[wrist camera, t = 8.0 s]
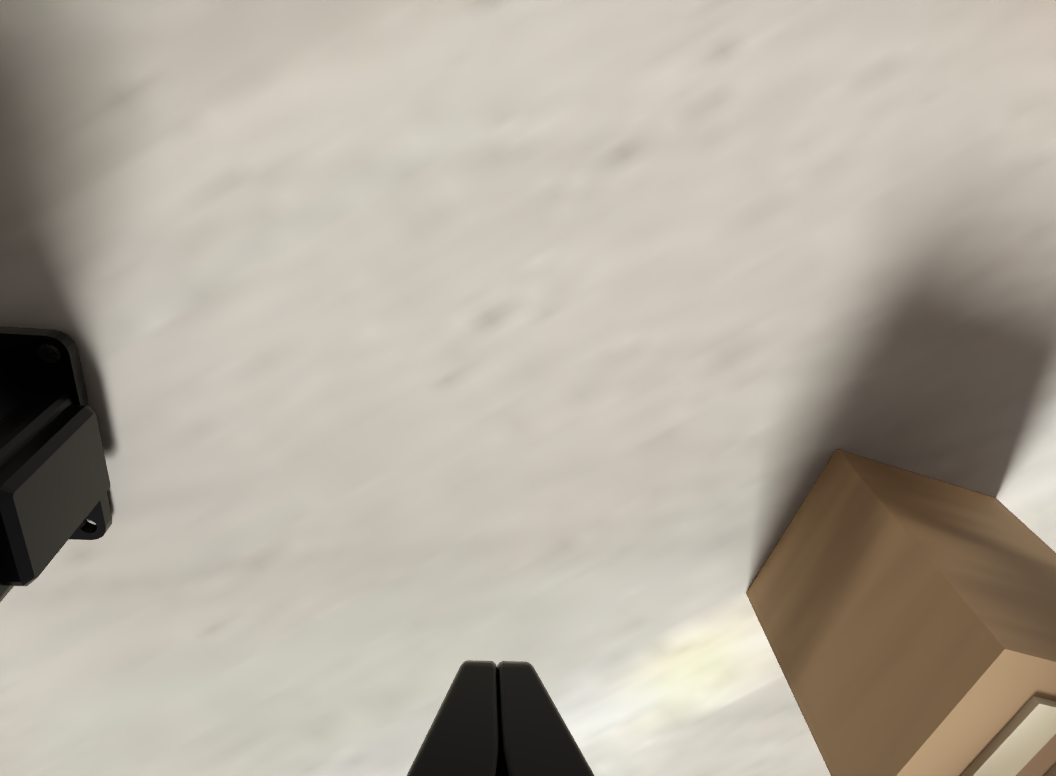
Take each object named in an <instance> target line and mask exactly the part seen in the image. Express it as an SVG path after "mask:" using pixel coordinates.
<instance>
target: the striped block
mask: <svg viewBox="0 0 1056 776" xmlns="http://www.w3.org/2000/svg"><path fill="white" fill-rule="evenodd" d="M746 594H747V596H748V598H749V601H750V603H751V605H752V607H753V609H754V611H755V613H756V616H757V618H758V620H759V622H760V624H761V626H762V628H763V631H764V633H765V635H766V637H767V639H768V641H769V643H770V646H771V648H772V650H773V652H774V654H775V656H776V658H777V661H778V663H779V665H780V667H781V669H782V671H783V673H784V676H785V678H786V680H787V682H788V684H789V686H790V688H791V691H792V693H793V695H794V697H795V699H796V701H797V703H798V706H799V708H800V710H801V712H802V714H803V716H804V718H805V721H806V723H807V725H808V727H809V729H810V731H811V733H812V736H813V738H814V740H815V742H816V744H817V746H818V748H819V751H820V753H821V755H822V757H823V759H824V761H825V764H826V766H827V768H828V770H829V772H830V774H831V776H1056V553H1055V552H1054V551H1053V550H1052V549H1051V548H1050V547H1049V546H1048V545H1046V544H1045V543H1044V542H1043V541H1042V540H1041V539H1040V538H1039V537H1038V536H1037V535H1036V534H1034V533H1033V532H1032V531H1031V530H1030V529H1029V528H1028V527H1027V526H1026V525H1025V524H1024V523H1022V522H1021V521H1020V520H1019V519H1018V518H1017V517H1016V516H1015V515H1014V514H1013V513H1012V512H1010V511H1009V510H1008V509H1007V508H1006V507H1005V506H1004V505H1003V504H1002V503H1001V502H1000V501H998V500H997V499H996V498H994V497H991V496H987V495H984V494H981V493H978V492H974V491H971V490H968V489H965V488H962V487H958V486H955V485H952V484H949V483H945V482H942V481H939V480H936V479H932V478H929V477H926V476H923V475H920V474H916V473H913V472H910V471H907V470H903V469H900V468H897V467H894V466H891V465H887V464H884V463H881V462H878V461H874V460H871V459H868V458H865V457H861V456H858V455H855V454H852V453H849V452H845V451H842V450H839V449H836V451H835V452H834V454H833V455H832V457H831V459H830V460H829V462H828V463H827V465H826V466H825V468H824V470H823V471H822V473H821V474H820V476H819V478H818V479H817V481H816V482H815V484H814V486H813V487H812V489H811V490H810V492H809V494H808V495H807V497H806V498H805V500H804V502H803V503H802V505H801V506H800V508H799V510H798V511H797V513H796V514H795V516H794V518H793V519H792V521H791V522H790V524H789V526H788V527H787V529H786V530H785V532H784V534H783V535H782V537H781V538H780V540H779V541H778V543H777V545H776V546H775V548H774V549H773V551H772V553H771V554H770V556H769V557H768V559H767V561H766V562H765V564H764V565H763V567H762V569H761V570H760V572H759V573H758V575H757V577H756V578H755V580H754V581H753V583H752V585H751V586H750V588H749V589H748V591H747V593H746Z"/></svg>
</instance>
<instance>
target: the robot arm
mask: <svg viewBox="0 0 1056 776" xmlns="http://www.w3.org/2000/svg"><path fill="white" fill-rule="evenodd" d="M47 344H48V345H51V346H54V347H55V348H56V349H57V350H58V352H59V354H60V357H59V356H56V355H53V354H52V353H51V352H49V350H48V348H47ZM109 488H110V481H109V476H108V471H107V466H106V461H105V456H104V451H103V446H102V441H101V436H100V432H99V427H98V422H97V417H96V414H95V412H94V411H93V410H92V409H91V407H89V403H88V398H87V393H86V388H85V383H84V379H83V374H82V369H81V364H80V359H79V354H78V349H77V347H76V344H75V342H74V341H73V340H72V339H71V338H70V336H68V335H67V334H65V333H63V332H61V331H57V330H48V329H30V328H13V327H0V602H1V601H2V599H3V598H4V597H5V596H6V595H7V593H8V592H9V591H10V590H11V589H12V588H13V586H28V585H29V584H30V583H32V582H33V581H34V580H35V579H36V578H37V577H38V576H39V575H40V574H41V572H42V571H43V570H44V569H45V567H46V566H47V565H48V564H49V563H50V561H51V560H52V559H53V558H54V556H55V555H56V554H57V553H58V551H59V550H60V549H61V548H62V546H63V545H64V544H65V543H66V542H67V540H68V539H80V540H94V539H99V538H100V537H102V536H103V535H104V534H105V532H106V531H107V530H108V528H109V527H110V526H111V524H112V516H111V511H110V506H109V501H108V496H107V491H108V490H109ZM86 519H89V520H92V521H93V522H95V523H96V525H94V524H91V523H89V522H88V521H87V520H86ZM407 776H594V774H593V772H592V770H591V769H590V767H589V765H588V763H587V762H586V760H585V758H584V756H583V754H582V753H581V751H580V749H579V747H578V745H577V744H576V742H575V740H574V738H573V737H572V735H571V733H570V731H569V729H568V728H567V726H566V724H565V722H564V721H563V719H562V717H561V715H560V713H559V712H558V710H557V708H556V706H555V705H554V703H553V701H552V699H551V697H550V696H549V694H548V692H547V690H546V689H545V687H544V685H543V683H542V681H541V680H540V678H539V676H538V674H537V672H536V671H535V669H534V667H533V666H532V665H531V664H530V663H528V662H515V661H502V662H500V663H499V664H498V665H497V667H496V664H495V663H494V662H493V661H465V662H463V664H462V665H461V666H460V668H459V670H458V672H457V674H456V676H455V678H454V680H453V682H452V684H451V686H450V689H449V691H448V693H447V695H446V697H445V699H444V701H443V703H442V705H441V707H440V709H439V711H438V713H437V715H436V717H435V719H434V721H433V723H432V725H431V727H430V729H429V731H428V733H427V735H426V737H425V740H424V742H423V744H422V746H421V748H420V750H419V752H418V754H417V756H416V758H415V760H414V762H413V764H412V766H411V768H410V770H409V772H408V774H407Z"/></svg>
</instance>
